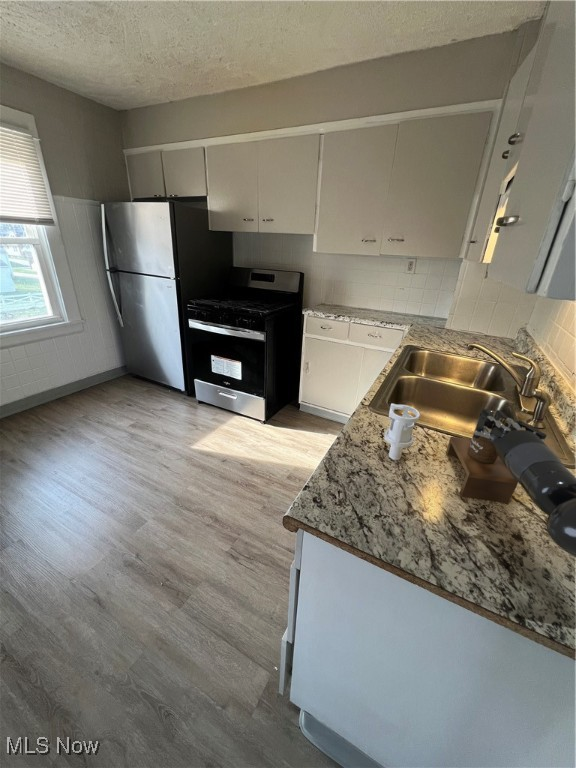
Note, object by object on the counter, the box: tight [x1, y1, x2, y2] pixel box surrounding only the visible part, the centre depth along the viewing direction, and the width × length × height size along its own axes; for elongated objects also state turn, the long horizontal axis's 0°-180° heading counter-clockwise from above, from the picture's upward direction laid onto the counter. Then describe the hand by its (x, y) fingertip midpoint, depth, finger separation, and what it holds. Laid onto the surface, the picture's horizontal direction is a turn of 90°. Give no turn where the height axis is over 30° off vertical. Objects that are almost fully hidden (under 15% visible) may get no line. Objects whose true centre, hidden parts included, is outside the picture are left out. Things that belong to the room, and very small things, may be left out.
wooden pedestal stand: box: [445, 436, 519, 505], centre depth 75 cm, size 10×14×7 cm
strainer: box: [384, 402, 421, 461], centre depth 80 cm, size 7×7×15 cm
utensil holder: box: [468, 410, 508, 463], centre depth 71 cm, size 6×6×12 cm
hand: (490, 413), depth 72 cm, fingers closed on utensil holder, 2 cm apart
